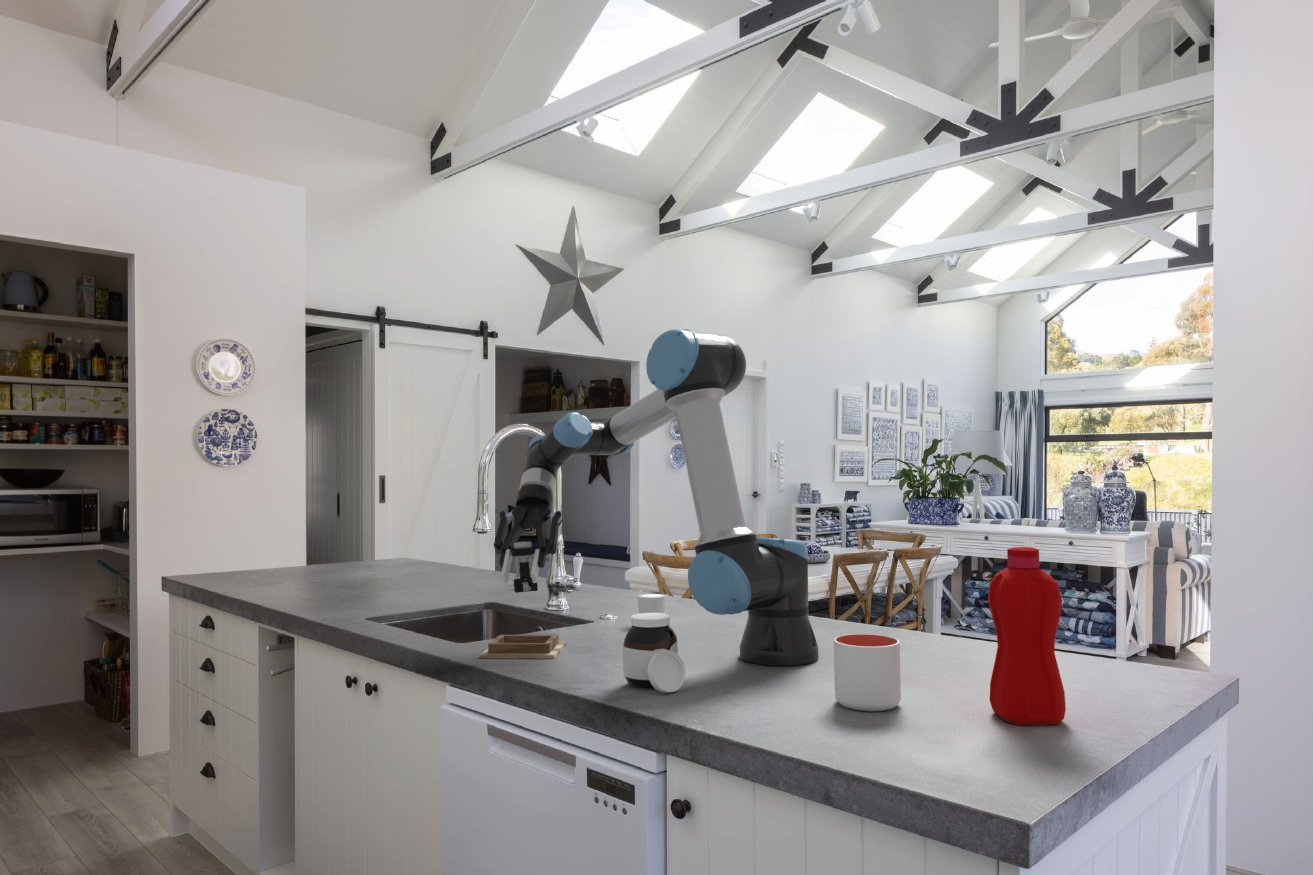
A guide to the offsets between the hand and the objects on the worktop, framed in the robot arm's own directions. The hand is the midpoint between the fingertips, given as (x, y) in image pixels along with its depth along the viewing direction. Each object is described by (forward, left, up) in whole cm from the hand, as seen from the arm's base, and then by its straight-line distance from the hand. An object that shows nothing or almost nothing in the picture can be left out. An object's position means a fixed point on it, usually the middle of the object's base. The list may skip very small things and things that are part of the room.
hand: (518, 578), depth 176 cm
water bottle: (-77, -54, -16) cm, 95 cm away
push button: (+3, -2, -3) cm, 5 cm away
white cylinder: (+16, -37, -16) cm, 43 cm away
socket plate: (+3, -2, -15) cm, 16 cm away
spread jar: (-35, -14, -16) cm, 41 cm away
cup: (-61, -38, -16) cm, 73 cm away
